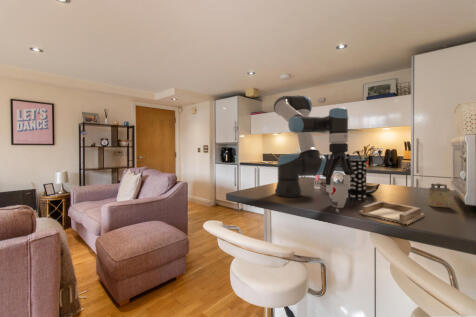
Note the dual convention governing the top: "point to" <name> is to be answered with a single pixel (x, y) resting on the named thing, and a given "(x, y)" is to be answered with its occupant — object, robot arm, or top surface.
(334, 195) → the cup
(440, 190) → the olive box with handle
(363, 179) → the spotted tube
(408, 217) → the rest
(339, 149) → the robot arm
